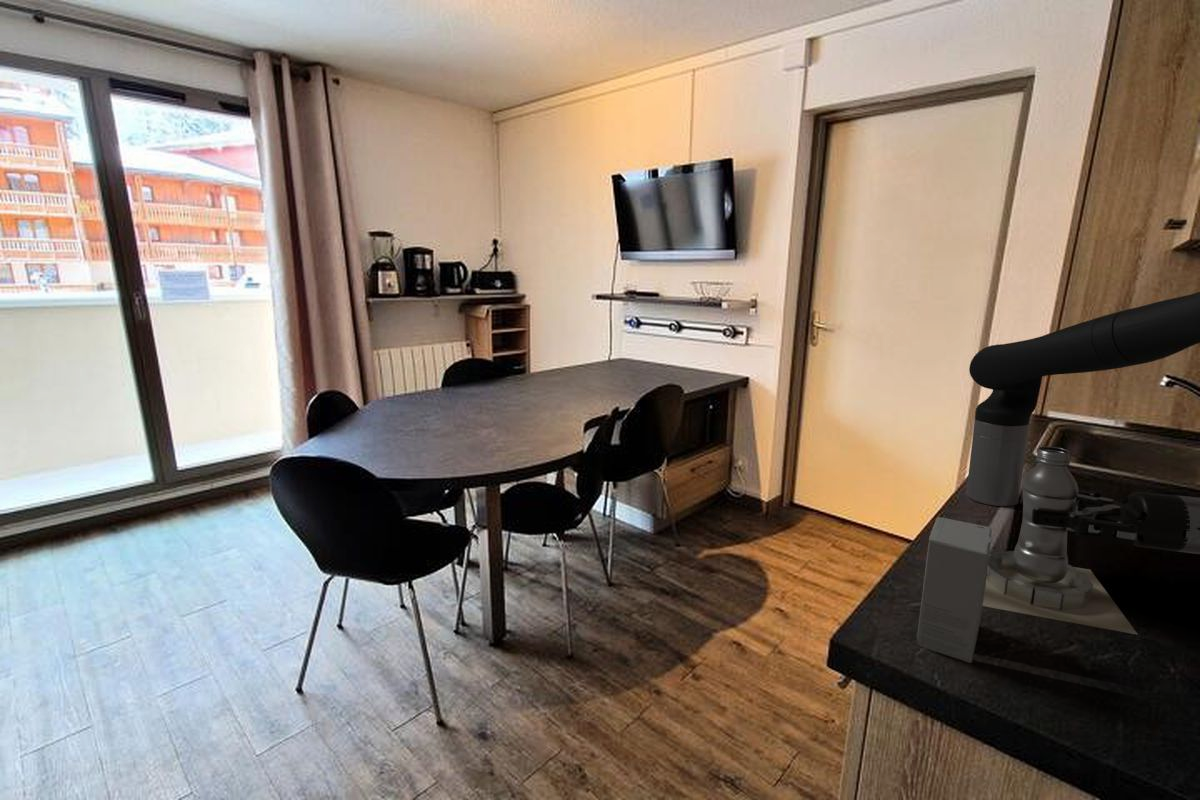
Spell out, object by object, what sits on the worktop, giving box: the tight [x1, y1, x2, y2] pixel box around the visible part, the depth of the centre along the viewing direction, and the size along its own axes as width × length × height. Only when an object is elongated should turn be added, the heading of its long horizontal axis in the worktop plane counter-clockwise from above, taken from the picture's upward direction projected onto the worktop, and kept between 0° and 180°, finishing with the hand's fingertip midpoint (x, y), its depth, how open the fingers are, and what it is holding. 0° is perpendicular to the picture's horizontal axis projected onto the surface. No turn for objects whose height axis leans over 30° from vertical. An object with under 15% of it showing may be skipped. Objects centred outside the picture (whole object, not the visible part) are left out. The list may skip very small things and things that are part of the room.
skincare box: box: [915, 516, 993, 664], centre depth 72 cm, size 8×7×16 cm
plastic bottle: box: [1013, 446, 1079, 583], centre depth 82 cm, size 6×7×20 cm
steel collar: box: [986, 550, 1093, 610], centre depth 84 cm, size 12×12×2 cm
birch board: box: [982, 553, 1139, 636], centre depth 84 cm, size 18×18×1 cm
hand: (1027, 506), depth 82 cm, fingers closed on plastic bottle, 6 cm apart
